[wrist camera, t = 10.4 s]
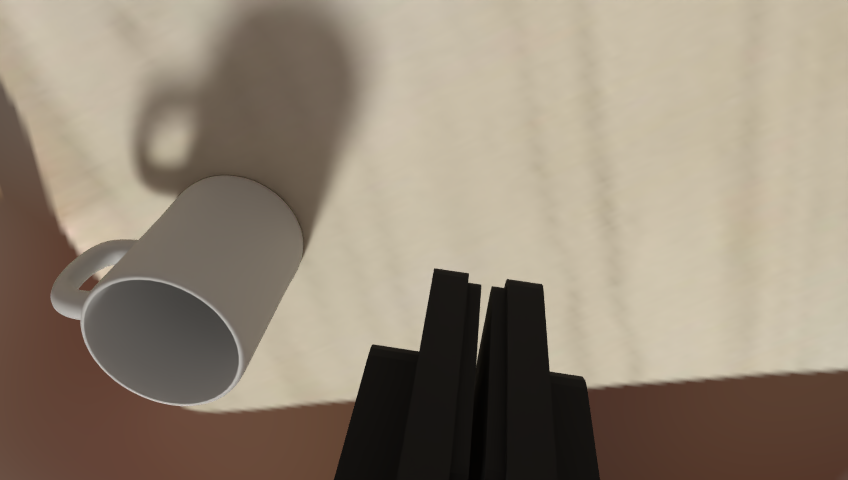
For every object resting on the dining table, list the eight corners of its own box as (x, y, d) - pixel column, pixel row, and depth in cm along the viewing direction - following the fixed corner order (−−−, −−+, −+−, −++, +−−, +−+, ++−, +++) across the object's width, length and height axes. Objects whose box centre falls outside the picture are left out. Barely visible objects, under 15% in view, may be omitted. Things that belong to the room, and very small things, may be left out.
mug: (302, 180, 40) (238, 284, 30) (307, 296, 44) (252, 418, 35) (109, 160, 40) (-12, 255, 31) (133, 276, 45) (33, 390, 35)
